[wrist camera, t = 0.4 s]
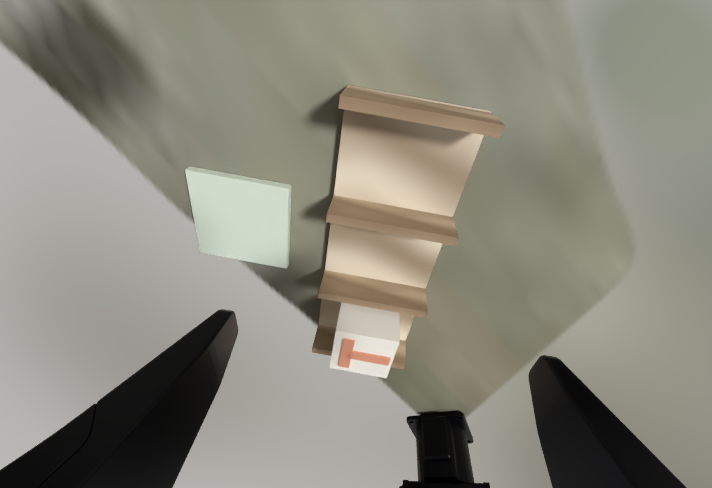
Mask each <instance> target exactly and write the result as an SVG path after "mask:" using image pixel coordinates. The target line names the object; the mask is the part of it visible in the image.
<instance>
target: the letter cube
mask: <svg viewBox="0 0 712 488" xmlns="http://www.w3.org/2000/svg"><path fill="white" fill-rule="evenodd" d="M399 343H400V316H399V313H396V312H391V311H385V310H380V309H375V308H369V307H364V306H358V305H353V304H348V303H342V302H341V307H340V312H339V317H338V322H337V327H336V332H335V338H334V344H333V350H332V356H331V362H330V368H334V369H339V370H345V371H350V372H355V373H361V374H366V375H372V376H377V377H382V378H387V376H388V373H389V370H390V367H391V365H392V362H393V359H394V356H395V354H396V351H397V348H398V346H399Z"/></svg>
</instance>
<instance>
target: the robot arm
mask: <svg viewBox="0 0 712 488" xmlns="http://www.w3.org/2000/svg"><path fill="white" fill-rule="evenodd" d="M237 334H238V326H237V321H236V316H235V313H234V312H233V311H230V310H223V309H221V310H218V311H217V312H216V313H214V314H213V315H211V316H210V317H209V318H207V319H206V320H205V321H203V322H202V323H201V324H200V325H198V326H197V327H195V328H194V329H193V330H192V331H190V332H189V333H188V334H187V335H185V336H184V337H182V338H181V339H180V340H178V341H177V342H176V343H174V344H173V345H172V346H170V347H169V348H168V349H166V350H165V351H164V352H162V353H161V354H160V355H158V356H157V357H156V358H154V359H153V360H152V361H151V362H149V363H148V364H147V365H145V366H144V367H143V368H141V369H140V370H139V371H137V372H136V373H135V374H133V375H132V376H131V377H129V378H128V379H127V380H125V381H124V382H123V383H121V384H120V385H119V386H117V387H116V388H115V389H114V390H112V391H111V392H110V393H108V394H107V395H106V396H104V397H103V398H102V399H100V400H99V401H98V402H97V404H94V405H92V406H91V407H90V408H88V409H87V410H86V411H84V412H83V413H82V414H80V415H79V416H78V417H76V418H75V419H73V420H72V421H71V422H69V423H68V424H67V425H66V426H64V427H63V428H61V429H60V430H58V431H57V432H56V433H54V434H53V435H52V436H50V437H49V438H47V439H46V440H44V441H43V442H42V443H40V444H38V445H37V446H35V447H34V448H32V449H31V450H30V451H28V452H27V453H25V454H24V455H22V456H21V457H19V458H18V459H16V460H15V461H13V462H12V463H10V464H9V465H7V466H6V467H4V468H3V469H1V470H0V488H172V487H173V485H174V483H175V481H176V479H177V476H178V474H179V472H180V470H181V468H182V466H183V464H184V462H185V459H186V457H187V455H188V453H189V451H190V448H191V446H192V444H193V442H194V440H195V438H196V436H197V434H198V432H199V429H200V427H201V425H202V423H203V421H204V419H205V417H206V415H207V412H208V410H209V408H210V406H211V404H212V401H213V400H214V397H215V395H216V393H217V391H218V389H219V386H220V384H221V381H222V378H223V376H224V373H225V370H226V367H227V364H228V361H229V358H230V355H231V352H232V349H233V346H234V344H235V341H236V338H237ZM529 383H530V390H531V395H532V402H533V408H534V413H535V419H536V425H537V430H538V435H539V439H540V443H541V447H542V450H543V454H544V458H545V461H546V465H547V468H548V472H549V476H550V480H551V483H552V487H553V488H686V487H685V486H684V485H683V484H682V483H681V482H680V481H679V480H678V479H677V478H676V477H675V476H674V475H673V474H672V473H671V472H670V471H669V470H668V469H667V467H665V465H664V464H663V463H661V461H660V460H659V459H658V458H657V457H656V456H655V455H654V454H653V453H652V452H651V451H650V450H649V449H648V448H647V447H646V446H645V445H644V444H643V443H642V442H641V441H640V440H639V439H638V438H637V437H636V436H635V435H634V434H633V433H632V432H631V431H630V430H629V429H628V428H627V427H626V426H625V425H624V424H623V423H622V422H621V421H620V420H619V419H618V418H617V417H616V416H615V415H614V414H613V413H612V412H611V411H610V410H609V409H608V408H607V407H606V406H605V405H604V404H603V403H602V402H601V401H600V400H599V399H598V398H597V397H596V396H595V395H594V394H593V393H592V392H591V391H590V390H589V388H588V387H587V386H586V385H585V384H584V383H583V382H582V381H581V380H580V379H579V378H577V376H576V375H575V374H574V373H573V372H572V371H571V370H570V369H569V368H568V367H566V365H565V364H564V363H563V362H562V361H561V360H560V359H558V358H556V357H552V356H545V355H543V356H541V357H539V359H538V360H537V361H536V363H535V364H534V366H533V367H532V368H531V370H530V372H529ZM407 423H408V425H409V427H410V428H411V430H412V432H413V434H414V435H415V437H416V442H417V466H418V481H408V480H403V485H402V486H400V487H399V488H490V485H489V483H485V482H484V483H483V484H482V483H474V478H473V473H472V466H471V460H470V454H469V448H468V443H473V437H472V435H471V432H470V429H469V427H468V424H467V422H466V419H465V416H464V414H463V413H462V412H454V413H443V414H431V415H419V416H409V417H407Z"/></svg>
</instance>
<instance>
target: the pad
mask: <svg viewBox="0 0 712 488" xmlns="http://www.w3.org/2000/svg"><path fill="white" fill-rule="evenodd" d="M185 173H186V178H187V184H188V189H189V195H190V200H191V206H192V211H193V217H194V223H195V228H196V234H197V239H198V245H199V250H200V253H205V254H210V255H216V256H221V257H227V258H232V259H237V260H243V261H248V262H254V263H259V264H264V265H270V266H275V267H281V268H286V269H287V267H288V265H289V244H290V211H291V185H288V184H283V183H277V182H272V181H267V180H261V179H256V178H250V177H245V176H239V175H234V174H229V173H223V172H218V171H212V170H207V169H201V168H196V167H191V166H190V167H188V168H187V169H185Z"/></svg>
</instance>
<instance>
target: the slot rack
mask: <svg viewBox="0 0 712 488" xmlns="http://www.w3.org/2000/svg"><path fill="white" fill-rule="evenodd" d="M338 108H339V109H344V113H343V122H342V130H341V139H340V147H339V156H338V164H337V172H336V181H335V189H334V196H333V199H332V201H331V204H330V207H329V209H328V212H327V218H326V222H328V223H330V231H329V240H328V248H327V257H326V265H325V271H324V275H323V278H322V282H321V285H320V288H319V292H318V298H321V307H320V316H319V324H318V328H317V332H316V336H315V340H314V344H313V347H312V352H313V353H319V354H324V355H330V356H332V350H333V344H334V338H335V332H336V327H337V322H338V317H339V312H340V307H341V302H342V303H348V304H353V305H358V306H364V307H369V308H375V309H380V310H385V311H391V312H396V313H399V316H400V343H399V346H398V348H397V351H396V354H395V356H394V359H393V362H392V365H391V367H394V368H400V369H405V366H406V348H405V340H406V338H407V335H408V333H409V330H410V327H411V325H412V322H413V319H414V317H415V316H418V317H423V318H426V315H427V313H428V310H427V300H426V290H425V288H426V285H427V283H428V280H429V278H430V275H431V272H432V270H433V267H434V264H435V262H436V259H437V257H438V254H439V251H440V249H441V246H442V244H447V245H453V246H455V245H456V243H457V240H458V234H457V231H456V227H455V224H454V220H453V215H454V212H455V209H456V207H457V204H458V202H459V199H460V196H461V194H462V191H463V188H464V186H465V183H466V181H467V178H468V175H469V173H470V170H471V167H472V165H473V162H474V160H475V157H476V154H477V152H478V149H479V147H480V144H481V141H482V139H483V136H484V135H486V136H492V137H497V138H500V136H501V134H502V132H503V129H504V127H505V125H504V124H503V123H502V122H501V121H500V120H499V119H498V118H497V117H496V116H495V115H494V114H493V113H492V112H491V111H487V110H482V109H476V108H471V107H465V106H460V105H455V104H449V103H444V102H438V101H433V100H427V99H422V98H416V97H411V96H406V95H400V94H395V93H389V92H384V91H378V90H373V89H367V88H362V87H356V86H351V85H347V87H346V88H345V89H344V90H343V92H342V93H341V94H340V98H339V107H338Z"/></svg>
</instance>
